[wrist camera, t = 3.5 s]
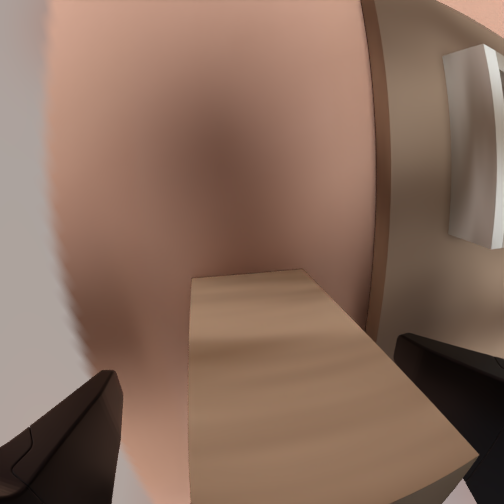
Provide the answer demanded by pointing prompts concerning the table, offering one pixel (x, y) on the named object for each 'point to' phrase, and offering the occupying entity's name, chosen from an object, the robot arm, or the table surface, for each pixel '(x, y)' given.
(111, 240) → the table surface
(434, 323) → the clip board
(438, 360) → the robot arm
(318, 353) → the peg
